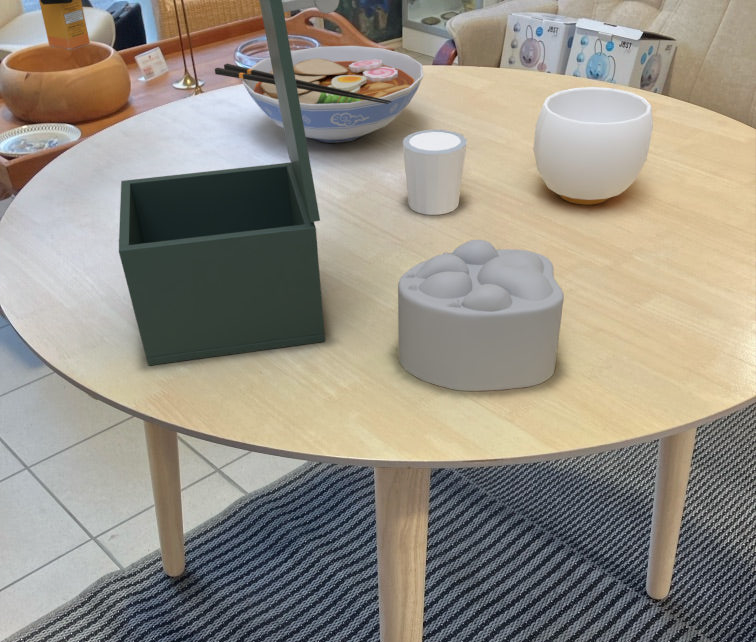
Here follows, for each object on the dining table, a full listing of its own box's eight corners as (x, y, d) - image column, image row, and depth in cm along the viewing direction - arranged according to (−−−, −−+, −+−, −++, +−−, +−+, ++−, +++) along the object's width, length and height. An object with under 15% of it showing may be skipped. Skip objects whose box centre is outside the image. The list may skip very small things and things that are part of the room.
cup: (661, 208, 93) (680, 117, 87) (557, 225, 91) (568, 133, 84) (608, 165, 102) (622, 79, 95) (512, 180, 100) (519, 93, 93)
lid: (268, -8, 57) (344, -22, 57) (249, -51, 67) (314, -63, 67) (310, 222, 68) (373, 209, 69) (289, 157, 78) (344, 146, 78)
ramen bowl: (463, 121, 114) (465, 54, 108) (366, 184, 100) (363, 111, 94) (312, 91, 124) (308, 28, 118) (207, 144, 111) (196, 76, 105)
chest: (148, 366, 74) (118, 250, 67) (147, 288, 84) (121, 180, 76) (325, 341, 76) (315, 227, 69) (304, 269, 86) (294, 161, 78)
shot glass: (455, 220, 93) (457, 155, 88) (395, 213, 94) (394, 149, 90) (471, 194, 97) (474, 131, 92) (413, 187, 99) (413, 125, 94)
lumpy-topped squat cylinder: (560, 386, 70) (574, 292, 64) (402, 394, 70) (401, 300, 64) (538, 319, 78) (548, 229, 72) (395, 326, 78) (393, 236, 72)
